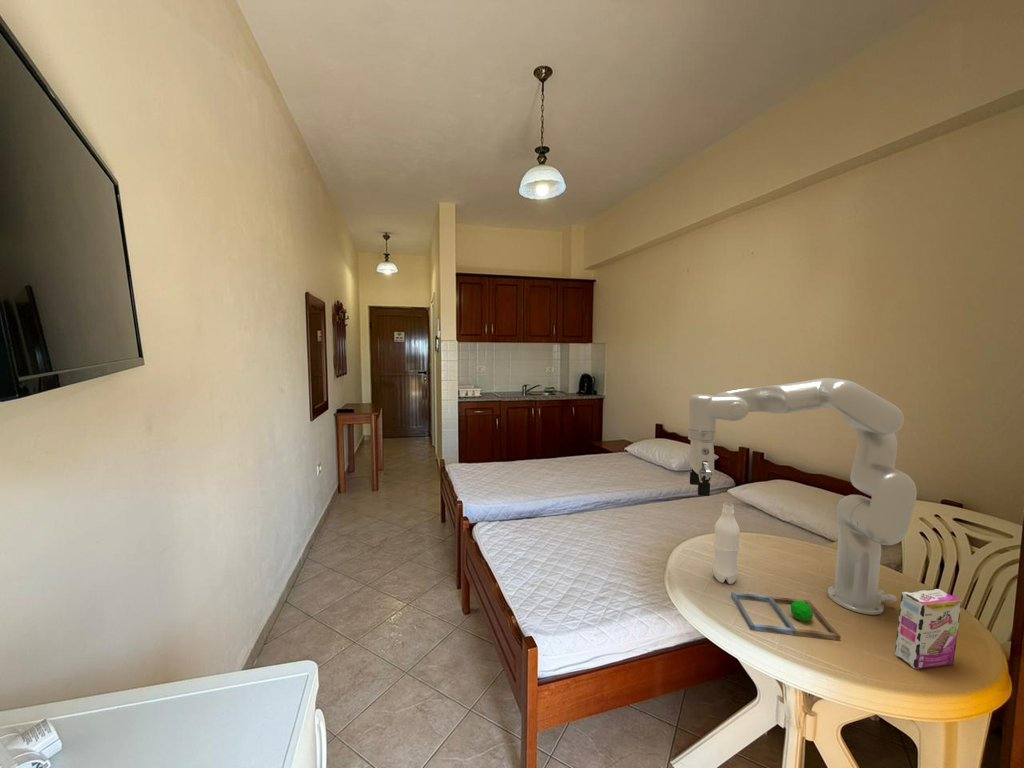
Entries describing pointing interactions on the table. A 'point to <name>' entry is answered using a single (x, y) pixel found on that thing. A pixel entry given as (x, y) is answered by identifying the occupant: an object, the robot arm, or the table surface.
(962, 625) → the table surface
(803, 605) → the polyhedron
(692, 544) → the table surface
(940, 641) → the candy bar box
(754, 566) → the table surface
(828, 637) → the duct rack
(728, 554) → the water bottle
